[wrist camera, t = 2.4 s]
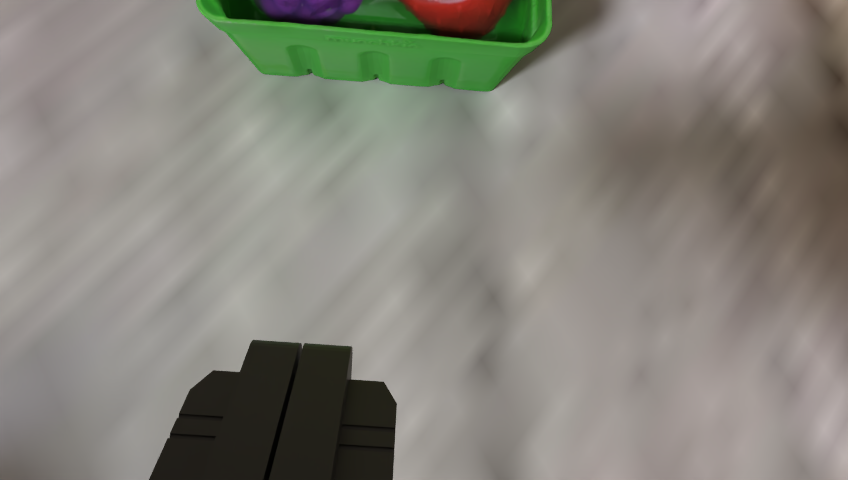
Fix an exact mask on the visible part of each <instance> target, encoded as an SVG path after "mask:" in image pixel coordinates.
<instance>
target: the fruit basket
mask: <svg viewBox="0 0 848 480" xmlns="http://www.w3.org/2000/svg"><path fill="white" fill-rule="evenodd" d="M196 4H197V7H198V9H199V11H200V12H201V13H202V14H203V15H204V16H205V17H206V18H207V19H208V20H209V21H210V22H212V23H213V24H214V25H215V26H216V27H217V28H219V29H220V30H222V31H224V32H226V33H227V35H228V36H229V37H230V38H231V39H232V40H233V41H234V42H235V44H236V45H237V46H238V47H239V48H240V49H241V50H242V52H243V53H244V54H245V55H246V56H247V57H248V58H249V60H250V61H251V62H252V63H253V64H254V65H255V67H256V68H257V69H258V70H259V71H260V72H261V73H263V74H269V75H282V76H301V75H308V74H309V73H313V74H314V75H316V76H319V77H322V78H324V79H335V80H348V81H361V82H363V81H368V80H374V79H375V78H379V80H381V81H384V82H387V83H390V84H398V85H410V86H427V87H429V86H434V85H439V84H441V83H444V84H445V85H446V86H450V87H452V88H454V89H463V90H474V91H491V90H493V89H494V88H495V87H496V86H497V85H498V84H499V83H500V81H501V80H502V79H503V78H504V77H505V76H506V75H507V74H508V73H509V72H510V70H511V69H512V68H513V67H514V66H515V65H516V64H517V63H518V62H519V61H520V60H521V59H522V58H523V57H524V56H525V55H526V54H528V53H530V52H532V51H533V50H534V49H536V48H537V47H538V46H539V45H540V44H541V43H543V42H544V41H545V40H546V39H547V37H548V36H549V34H550V32H551V29H552V0H196Z"/></svg>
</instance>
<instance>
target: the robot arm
mask: <svg viewBox="0 0 848 480" xmlns="http://www.w3.org/2000/svg"><path fill="white" fill-rule="evenodd" d="M351 371H352V347H351V346H336V345H322V344H308V343H305V344H304V346H303V349H302V345H301V343H291V342H276V341H262V340H252V342H251V344H250V346H249V349H248V352H247V354H246V357H245V360H244V362H243V365H242V368H241V370H240V372H228V371H214V370H213V371H212V372H211V373H210V374H209V375H207V376H206V377H205V378H204V379H202V380H201V381H200V382H199V383H198V384H196V385H195V386H194V387H193V388H192V389H190V391H189V393H188V395H187V397H186V400H185V402H184V404H183V406H182V408H181V411H180V413H179V418H177V419H176V422H175V424H174V426H173V428H172V430H171V433H170V438H168V439H167V441H166V443H165V446H164V448H163V450H162V452H161V454H160V457H159V459H158V461H157V463H156V465H155V468H154V470H153V472H152V474H151V476H150V479H149V480H393V463H394V444H395V425H396V406H397V403H396V402H395V400H394V398H393V397H392V395H391V393H390V392H389V390H388V388H387V387H386V385H385V383H384V382H378V381H363V380H351Z"/></svg>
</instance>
